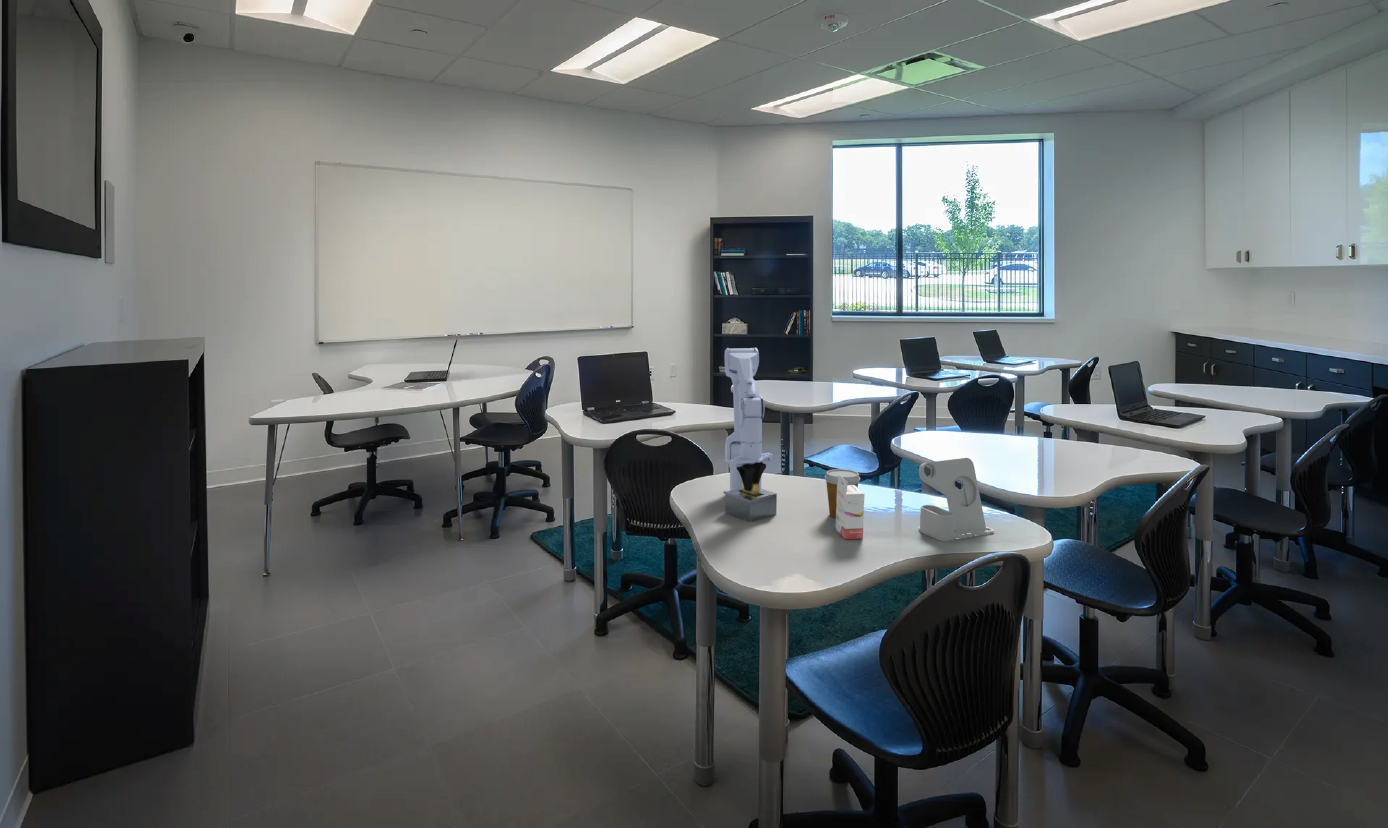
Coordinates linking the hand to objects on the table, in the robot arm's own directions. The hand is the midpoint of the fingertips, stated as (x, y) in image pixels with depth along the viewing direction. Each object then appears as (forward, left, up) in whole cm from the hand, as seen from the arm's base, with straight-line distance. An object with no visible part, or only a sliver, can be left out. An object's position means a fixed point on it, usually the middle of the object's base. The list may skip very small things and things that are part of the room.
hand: (750, 489), depth 196 cm
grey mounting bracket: (-30, +44, -7) cm, 54 cm away
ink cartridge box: (-8, +28, -7) cm, 30 cm away
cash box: (0, 0, -7) cm, 7 cm away
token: (0, 0, -2) cm, 2 cm away
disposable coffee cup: (-18, +17, -7) cm, 26 cm away
